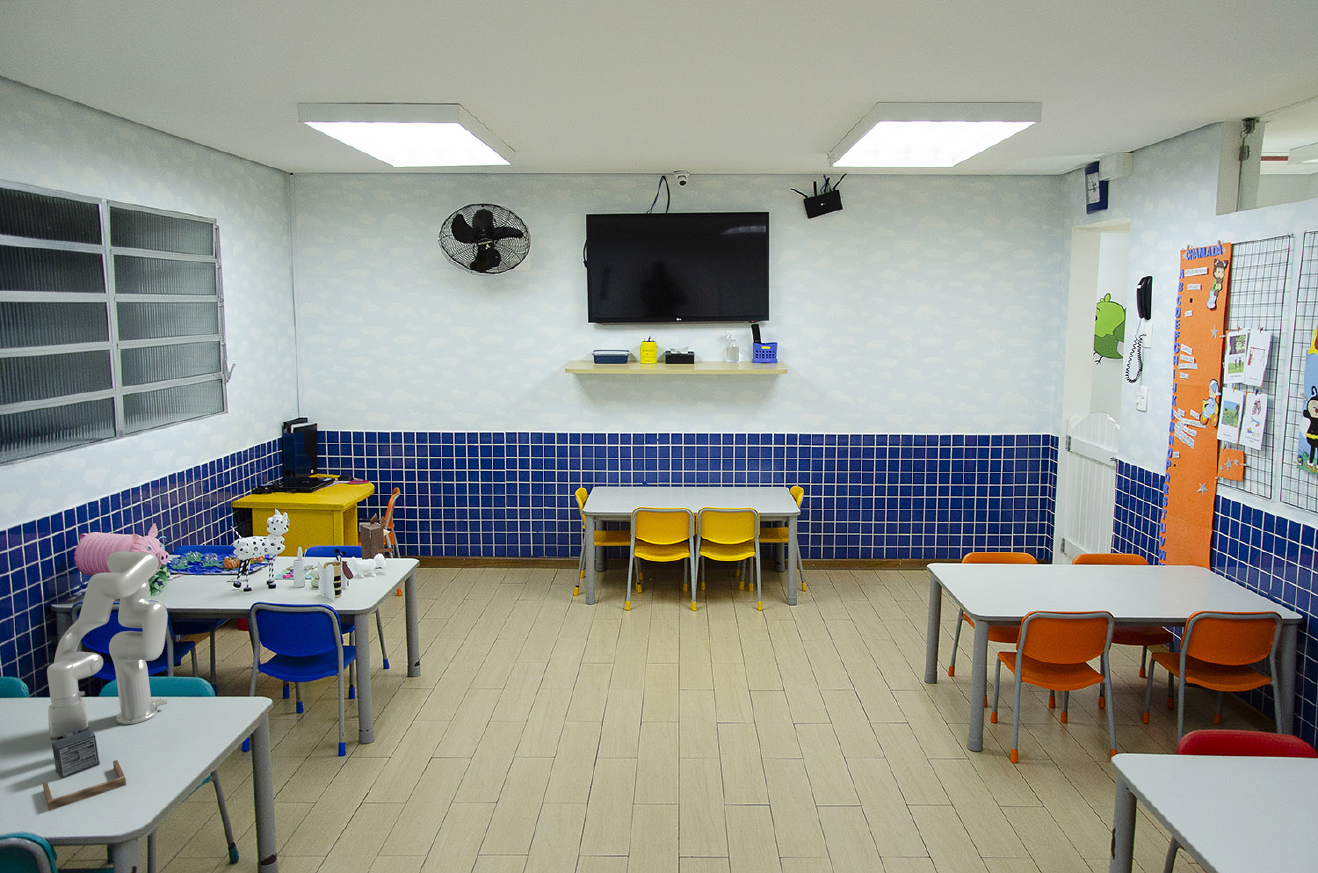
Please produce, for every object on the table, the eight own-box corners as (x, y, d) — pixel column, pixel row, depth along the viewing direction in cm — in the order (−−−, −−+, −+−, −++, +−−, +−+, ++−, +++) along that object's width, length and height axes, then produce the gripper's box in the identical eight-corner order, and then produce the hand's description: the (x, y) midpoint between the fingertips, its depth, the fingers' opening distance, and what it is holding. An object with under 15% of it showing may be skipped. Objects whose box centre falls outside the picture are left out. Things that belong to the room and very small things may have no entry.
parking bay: (118, 767, 268) (117, 760, 268) (126, 785, 259) (125, 777, 258) (43, 791, 256) (42, 783, 255) (49, 810, 246) (48, 803, 246)
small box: (93, 757, 274) (89, 728, 272) (100, 764, 270) (96, 734, 268) (55, 772, 266) (50, 741, 264) (61, 779, 262) (57, 748, 260)
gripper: (91, 688, 279) (97, 739, 282) (35, 702, 270) (43, 755, 273) (94, 696, 274) (101, 748, 277) (38, 711, 264) (45, 765, 267)
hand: (72, 751), depth 275 cm, fingers closed
